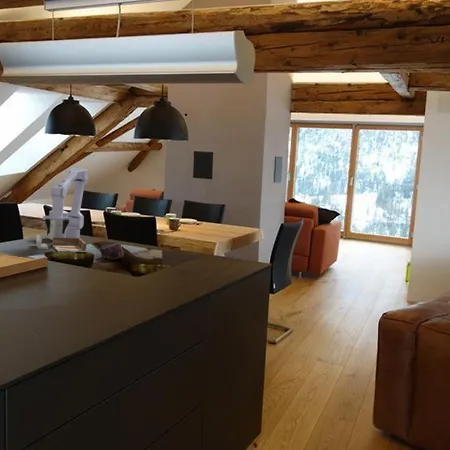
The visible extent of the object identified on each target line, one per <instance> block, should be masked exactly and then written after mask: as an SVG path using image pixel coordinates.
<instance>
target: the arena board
mask: <svg viewBox="0 0 450 450" xmlns="http://www.w3.org/2000/svg"><path fill="white" fill-rule="evenodd" d="M52 247H53V249H54V250H55V249H56V250H57V251H84V250H82V249H81V248H80V247H79V246H78V245H53V244H52ZM56 250H55V251H56ZM57 251H56V252H57Z"/></svg>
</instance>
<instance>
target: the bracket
mask: <svg viewBox="0 0 450 450" xmlns="http://www.w3.org/2000/svg"><path fill="white" fill-rule="evenodd" d="M42 240H43V238H42V237H41V235H40V234H36V241H35V242H36V243H35V246H36V247H37V249H38V250H48V249H49V246H48V244H46V243H42V242H43V241H42Z"/></svg>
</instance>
